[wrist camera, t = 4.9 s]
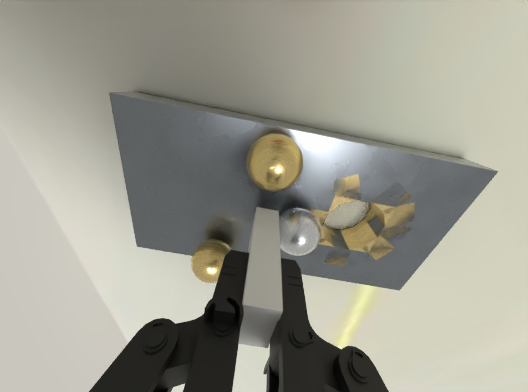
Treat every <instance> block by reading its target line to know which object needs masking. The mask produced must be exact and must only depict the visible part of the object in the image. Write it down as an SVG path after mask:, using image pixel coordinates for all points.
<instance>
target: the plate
mask: <svg viewBox="0 0 528 392" xmlns="http://www.w3.org/2000/svg"><path fill="white" fill-rule="evenodd" d="M109 95H110V100H111V106H112V111H113V117H114V122H115V128H116V133H117V139H118V144H119V150H120V155H121V161H122V166H123V172H124V178H125V183H126V189H127V194H128V200H129V205H130V211H131V216H132V222H133V227H134V233H135V238H136V244H137V247H143V248H149V249H155V250H161V251H167V252H173V253H179V254H185V255H191V256H192V255H193V253H194V251H195V249H196V248H197V247H198V246H199V245H200V244H201V243H203V242H205V241H207V240H211V239H218V240H222V241H224V242H225V243H227V244H228V245H229V246H230V247H231V249H232V250H236V251H241V252H247V253H248V248H249V242H250V236H251V232H252V227H253V222H254V217H255V213H256V208H257V207H260V208H265V209H270V210H276V211H279V215H280V214H281V213H283V212H284V211H286V210H288V209H291V208H303V209H306V210H308V211H310V212H311V213H313V214H314V215H315V216H316V218H317V219H318V221H319V223H320V226H321V239H320V242H319V244H318V246H317V247H316V248H315V249H314V250H313V251H312V252H310V253H308V254H306V255H301V256H295V255H291V254H288V253H286V252H285V251H283V250H282V249H281V248H280V254H281V258H285V259H290V260H296V262H297V264H298V265H299V267H300V269H301V274H305V275H311V276H317V277H323V278H329V279H335V280H341V281H347V282H353V283H359V284H365V285H371V286H377V287H383V288H389V289H395V290H400V289H401V288H402V287H403V286H404V284H405V283H406V282H407V281H408V280H409V278H410V277H411V276H412V275H413V274H414V272H415V271H416V270H417V269H418V267H419V266H420V265H421V264H422V263H423V261H424V260H425V259H426V258H427V257H428V255H429V254H430V253H431V252H432V251H433V249H434V248H435V247H436V246H437V245H438V243H439V242H440V241H441V240H442V239H443V237H444V236H445V235H446V234H447V233H448V231H449V230H450V229H451V228H452V227H453V225H454V224H455V223H456V222H457V221H458V219H459V218H460V217H461V216H462V214H463V213H464V212H465V211H466V210H467V208H468V207H469V206H470V205H471V204H472V202H473V201H474V200H475V199H476V198H477V196H478V195H479V194H480V193H481V192H482V190H483V189H484V188H485V187H486V186H487V184H488V183H489V182H490V181H491V180H492V178H493V177H494V176H495V175H496V174H497V172H498V171H495V170H493V169H490V168H487V167H485V166H482V165H479V164H477V163H474V162H471V161H469V160H466V159H462V158H457V157H452V156H448V155H443V154H438V153H433V152H428V151H423V150H418V149H413V148H408V147H404V146H399V145H394V144H389V143H384V142H379V141H374V140H369V139H364V138H360V137H355V136H350V135H345V134H340V133H335V132H330V131H325V130H320V129H316V128H311V127H306V126H301V125H296V124H291V123H286V122H281V121H276V120H272V119H267V118H262V117H257V116H252V115H247V114H242V113H237V112H233V111H228V110H223V109H218V108H213V107H208V106H203V105H198V104H193V103H189V102H184V101H179V100H174V99H169V98H164V97H159V96H154V95H149V94H145V93H140V92H109ZM268 134H283V135H286V136H288V137H290V138H291V139H293V140H294V141H295V142H296V143H297V144H298V146H299V147H300V149H301V151H302V154H303V161H304V164H303V170H302V173H301V175H300V177H299V179H298V180H297V181H296V182H295V183H294V184H293V185H292V186H291V187H289V188H287V189H285V190H282V191H268V190H265V189H262V188H260V187H259V186H257V185H256V184H255V183H254V182H253V181H252V179H251V178H250V176H249V174H248V171H247V166H246V160H247V155H248V152H249V150H250V148H251V146H252V145H253V143H254V142H255V141H256V140H258V139H259V138H261V137H262V136H265V135H268ZM356 200H360V201H365V202H370V206H371V208H370V210H369V212H368V214H367V215H366V217H365V219H364V220H362V221H361V222H360V223H358V224H357V225H355V226H354V227H351V228H346V229H342V230H338V229H332V228H327V227H326V226H325V225H324V221H325V219H326V216H327V215H328V214H329V213H330V212H331V211H333V210H334V209H335V208H337V207H338V206H339V205H341V204H345V203H348V202H352V201H356Z"/></svg>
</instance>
